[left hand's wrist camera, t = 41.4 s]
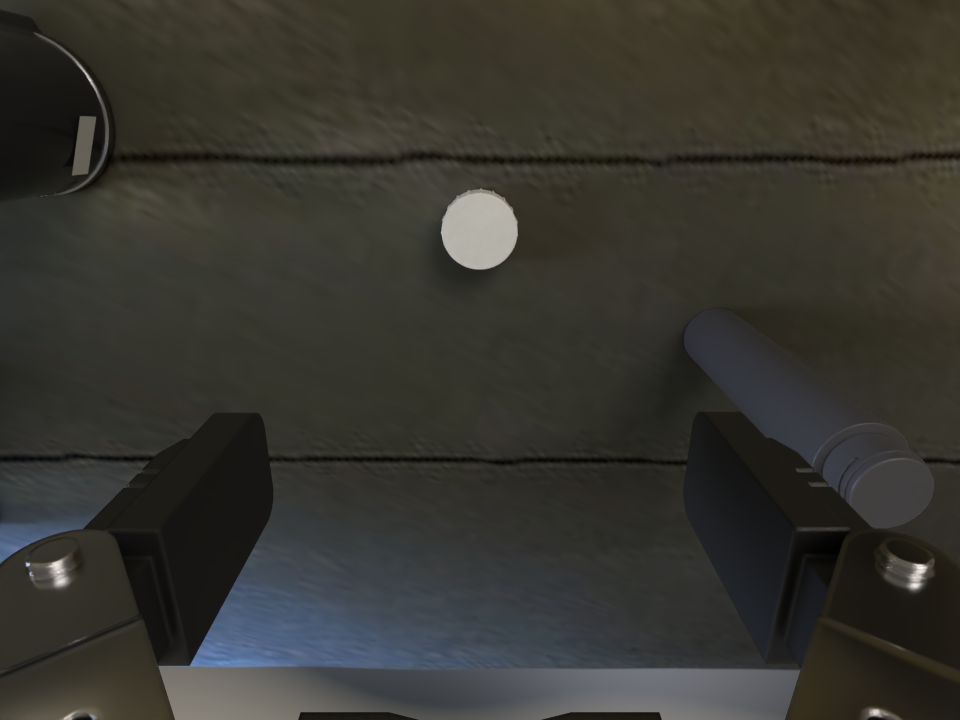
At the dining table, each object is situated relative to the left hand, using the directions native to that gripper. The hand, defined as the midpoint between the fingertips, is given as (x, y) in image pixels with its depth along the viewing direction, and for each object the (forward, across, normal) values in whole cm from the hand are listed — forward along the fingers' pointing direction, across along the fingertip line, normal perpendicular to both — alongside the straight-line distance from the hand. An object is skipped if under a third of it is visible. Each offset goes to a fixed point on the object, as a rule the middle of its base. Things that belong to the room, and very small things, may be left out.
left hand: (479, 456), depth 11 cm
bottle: (+30, +16, -8) cm, 35 cm away
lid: (+28, 0, 0) cm, 28 cm away
